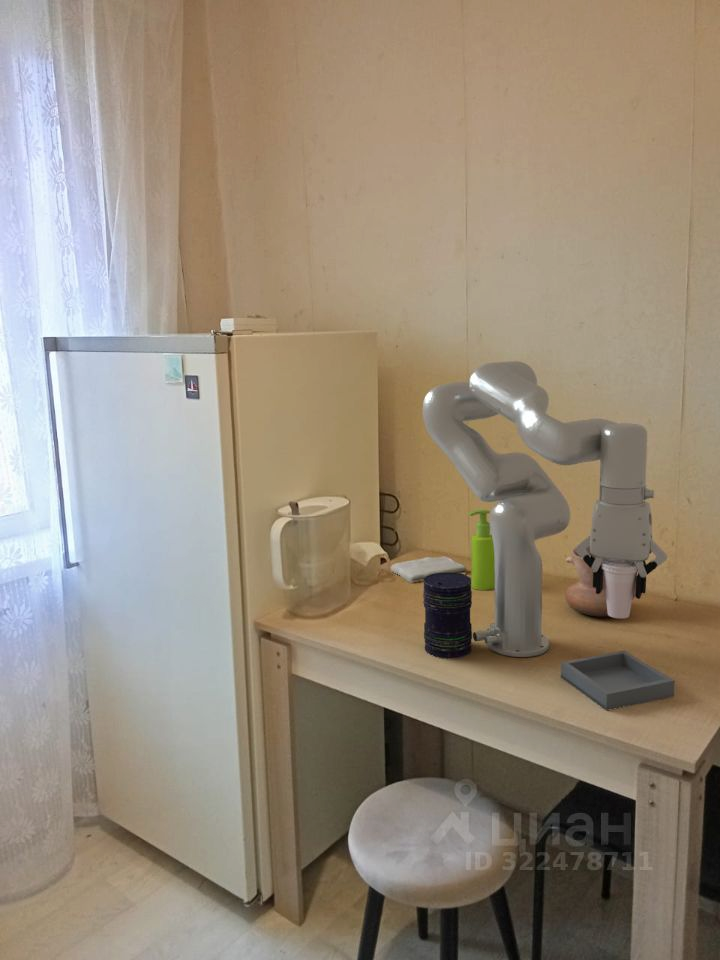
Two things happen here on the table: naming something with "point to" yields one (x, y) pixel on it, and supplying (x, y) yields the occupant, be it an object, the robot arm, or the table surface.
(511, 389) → the robot arm
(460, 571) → the washcloth
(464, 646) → the storage jar
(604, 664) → the tray
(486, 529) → the soap dispenser
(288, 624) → the table surface
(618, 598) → the smoothie
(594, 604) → the ceramic jug
